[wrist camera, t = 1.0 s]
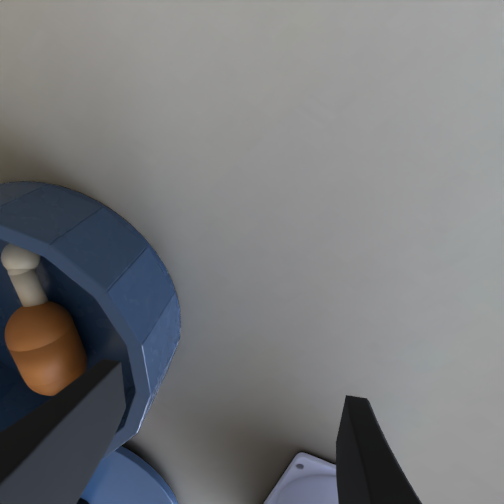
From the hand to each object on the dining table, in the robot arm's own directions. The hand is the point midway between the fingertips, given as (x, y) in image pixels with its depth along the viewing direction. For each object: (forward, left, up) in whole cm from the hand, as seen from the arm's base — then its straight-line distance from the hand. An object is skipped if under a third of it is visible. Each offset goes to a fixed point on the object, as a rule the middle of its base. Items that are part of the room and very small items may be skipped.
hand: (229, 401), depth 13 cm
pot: (-8, +11, -10) cm, 17 cm away
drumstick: (-8, +11, -10) cm, 17 cm away
